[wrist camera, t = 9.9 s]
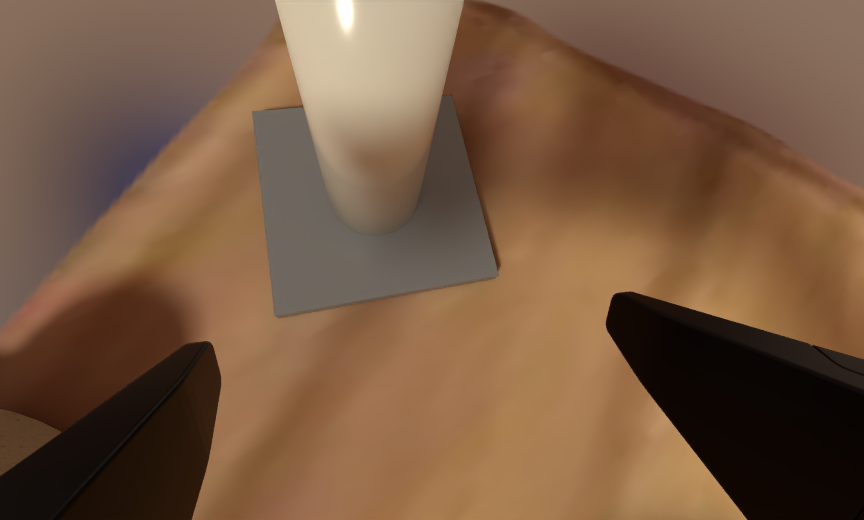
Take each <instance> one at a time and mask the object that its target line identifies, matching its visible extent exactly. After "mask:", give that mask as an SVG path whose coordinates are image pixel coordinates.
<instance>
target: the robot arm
mask: <svg viewBox="0 0 864 520" xmlns="http://www.w3.org/2000/svg"><path fill="white" fill-rule="evenodd" d="M606 328H607V331H608V333H609V334H610V336H611V337H612V339H613V341H614V342H615V344H616V345H617V347H618V348H619V350H620V351H621V353H622V355H623V356H624V358H625V359H626V361H627V362H628V364H629V365H630V367H631V369H632V370H633V372H634V373H635V375H636V376H637V378H638V379H639V381H640V382H641V383H642V385H643V386H644V388H645V389H646V390H647V392H648V393H649V394H650V395H651V397H652V398H653V399H654V401H655V402H656V403H657V404H658V406H659V407H660V408H661V409H662V411H663V412H664V413H665V415H666V416H667V417H668V418H669V420H670V421H671V422H672V424H673V425H674V426H675V427H676V429H677V430H678V431H679V433H680V434H681V435H682V436H683V438H684V439H685V440H686V442H687V443H688V444H689V445H690V447H691V448H692V449H693V451H694V452H695V453H696V454H697V456H698V457H699V458H700V460H701V461H702V462H703V463H704V465H705V466H706V467H707V469H708V470H709V471H710V472H711V474H712V475H713V476H714V478H715V479H716V480H717V481H718V483H719V484H720V485H721V487H722V488H723V489H724V490H725V492H726V493H727V494H728V495H729V497H730V498H731V499H732V501H733V502H734V503H735V504H736V506H737V507H738V508H739V510H740V511H741V512H742V513H743V515H744V516H745V517H746V519H747V520H864V360H863V359H860V358H856V357H853V356H849V355H846V354H842V353H839V352H835V351H832V350H829V349H825V348H822V347H818V346H815V345H813V346H811V345H810V344H808V343H805V342H801V341H798V340H794V339H791V338H788V337H784V336H781V335H777V334H774V333H771V332H767V331H764V330H760V329H757V328H754V327H750V326H747V325H743V324H740V323H737V322H733V321H730V320H727V319H723V318H720V317H716V316H713V315H710V314H706V313H703V312H699V311H696V310H693V309H689V308H686V307H682V306H679V305H676V304H672V303H669V302H665V301H662V300H659V299H655V298H652V297H648V296H645V295H642V294H638V293H635V292H621V293H616V294H614V295H613V297H612V299H611V303H610V307H609V311H608V315H607V319H606ZM220 389H221V374H220V370H219V366H218V363H217V359H216V355H215V351H214V348H213V345H212V344H211V343H210V342H208V341H204V342H195V343H188V344H185V345H184V346H182V347H181V348H179V349H178V350H177V351H175V352H174V353H172V354H171V355H170V356H168V357H167V358H165V359H164V360H163V361H161V362H160V363H158V364H157V365H156V366H154V367H153V368H151V369H150V370H148V371H147V372H146V373H144V374H143V375H141V376H140V377H139V378H137V379H136V380H134V381H133V382H132V383H130V384H129V385H127V386H126V387H125V388H123V389H122V390H120V391H119V392H118V393H116V394H115V395H113V396H112V397H110V398H109V399H108V400H106V401H105V402H103V403H102V404H101V405H99V406H98V407H96V408H95V409H94V410H92V411H91V412H89V413H88V414H87V415H85V416H84V417H82V418H81V419H79V420H78V421H77V422H75V423H74V424H72V425H71V426H70V427H68V428H67V429H65V430H64V431H63V432H61V433H60V434H58V435H57V436H56V437H54V438H53V439H51V440H50V441H48V442H47V443H46V444H44V445H43V446H41V447H40V448H39V449H37V450H36V451H34V452H33V453H32V454H30V455H29V456H27V457H26V458H24V459H23V460H22V461H20V462H19V463H17V464H16V465H15V466H13V467H12V468H10V469H9V470H8V471H6V472H5V473H3V474H2V475H1V476H0V520H192V517H193V513H194V510H195V507H196V503H197V500H198V496H199V493H200V489H201V486H202V482H203V479H204V476H205V472H206V468H207V464H208V460H209V455H210V450H211V444H212V438H213V432H214V426H215V420H216V414H217V407H218V401H219V395H220Z"/></svg>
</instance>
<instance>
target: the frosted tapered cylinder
mask: <svg viewBox="0 0 864 520" xmlns="http://www.w3.org/2000/svg"><path fill="white" fill-rule="evenodd" d="M275 2H276V5H277V9H278V13H279V17H280V21H281V24H282V28H283V32H284V36H285V39H286V43H287V47H288V50H289V54H290V58H291V62H292V65H293V69H294V73H295V76H296V80H297V84H298V88H299V91H300V95H301V99H302V103H303V106H304V110H305V114H306V117H307V121H308V125H309V129H310V132H311V136H312V140H313V144H314V147H315V151H316V155H317V158H318V162H319V166H320V170H321V173H322V177H323V181H324V185H325V188H326V192H327V196H328V199H329V203H330V206H331V209H332V211H333V213H334V215H335V216H336V217H337V219H338V220H339V221H340V222H341V223H342V224H343V225H345V226H346V227H347V228H349V229H351V230H353V231H355V232H357V233H360V234H365V235H373V236H375V235H384V234H388V233H391V232H394V231H396V230H398V229H399V228H401V227H402V226H403V225H405V224H406V223H407V222H408V221H409V220H410V218H411V217H412V215H413V214H414V212H415V209H416V206H417V203H418V198H419V194H420V190H421V185H422V181H423V177H424V172H425V168H426V164H427V159H428V155H429V151H430V146H431V142H432V138H433V133H434V129H435V125H436V120H437V116H438V112H439V107H440V103H441V99H442V94H443V90H444V86H445V81H446V77H447V73H448V69H449V64H450V60H451V56H452V51H453V47H454V43H455V38H456V34H457V30H458V25H459V21H460V17H461V12H462V8H463V4H464V0H275Z"/></svg>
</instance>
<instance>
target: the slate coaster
mask: <svg viewBox="0 0 864 520" xmlns="http://www.w3.org/2000/svg"><path fill="white" fill-rule="evenodd" d="M252 114H253V123H254V132H255V141H256V150H257V160H258V169H259V178H260V187H261V196H262V205H263V214H264V223H265V232H266V241H267V250H268V259H269V268H270V277H271V286H272V295H273V304H274V313H275V316H276V317H277V318H283V317H289V316H294V315H300V314H305V313H311V312H316V311H322V310H327V309H333V308H338V307H343V306H349V305H354V304H360V303H365V302H371V301H376V300H382V299H387V298H393V297H398V296H404V295H409V294H415V293H420V292H425V291H431V290H436V289H442V288H447V287H453V286H458V285H464V284H469V283H475V282H480V281H486V280H491V279H495V278H496V277H497V276H499V274H498V270H497V266H496V263H495V259H494V255H493V251H492V247H491V243H490V240H489V236H488V232H487V228H486V224H485V220H484V217H483V213H482V209H481V205H480V201H479V197H478V193H477V190H476V186H475V182H474V178H473V174H472V170H471V167H470V163H469V159H468V155H467V151H466V147H465V143H464V140H463V136H462V132H461V128H460V124H459V120H458V117H457V113H456V109H455V105H454V101H453V97H452V94H451V95H442V99H441V103H440V107H439V112H438V116H437V120H436V125H435V129H434V133H433V138H432V142H431V146H430V151H429V155H428V159H427V164H426V168H425V172H424V177H423V181H422V185H421V190H420V194H419V198H418V203H417V206H416V209H415V212H414V214H413V215H412V217H411V218H410V220H409V221H408V222H407V223H406V224H405V225H403V226H402V227H401V228H399V229H398V230H396V231H394V232H391V233H388V234H384V235H375V236H373V235H365V234H360V233H357V232H355V231H353V230H351V229H349V228H347V227H346V226H345V225H343V224H342V223H341V222H340V221H339V220H338V219H337V217H336V216H335V215H334V213H333V211H332V209H331V206H330V203H329V199H328V196H327V192H326V188H325V185H324V181H323V177H322V173H321V170H320V166H319V162H318V158H317V155H316V151H315V147H314V144H313V140H312V136H311V132H310V129H309V125H308V121H307V117H306V114H305V110H304V107H299V108H287V109H276V110H264V111H252Z"/></svg>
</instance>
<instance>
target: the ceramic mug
mask: <svg viewBox="0 0 864 520" xmlns="http://www.w3.org/2000/svg"><path fill="white" fill-rule="evenodd" d="M60 433H61V431H59V430H57V429H55V428H53V427H51V426H49V425H47V424H45V423H43V422H41V421H38V420H35V419H33V418H30V417H27V416H24V415H22V414H19V413H16V412H12V411H8V410H4V409H0V476H1V475H2V474H3V473H5V472H6V471H8V470H9V469H10V468H12V467H13V466H15V465H16V464H17V463H19V462H20V461H22V460H23V459H24V458H26V457H27V456H29V455H30V454H32V453H33V452H34V451H36V450H37V449H39V448H40V447H41V446H43V445H44V444H46V443H47V442H48V441H50V440H51V439H53V438H54V437H56V436H57V435H58V434H60Z"/></svg>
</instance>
